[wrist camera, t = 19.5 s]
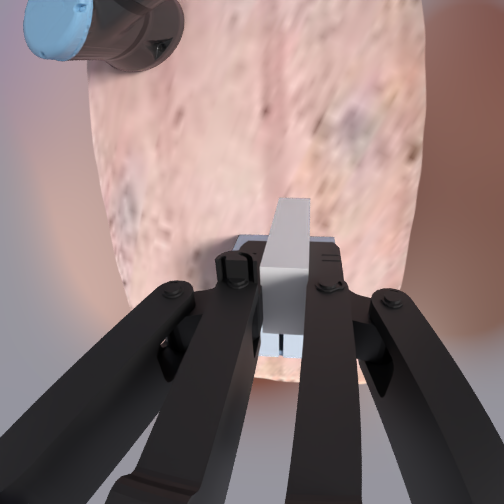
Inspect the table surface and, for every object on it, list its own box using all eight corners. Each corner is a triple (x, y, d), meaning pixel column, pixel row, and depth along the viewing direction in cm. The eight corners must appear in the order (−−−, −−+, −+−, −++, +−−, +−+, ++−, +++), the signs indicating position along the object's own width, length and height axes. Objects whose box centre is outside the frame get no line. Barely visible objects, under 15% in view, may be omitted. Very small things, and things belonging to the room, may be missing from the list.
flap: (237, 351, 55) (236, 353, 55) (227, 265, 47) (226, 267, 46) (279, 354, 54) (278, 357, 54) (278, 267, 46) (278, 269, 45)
